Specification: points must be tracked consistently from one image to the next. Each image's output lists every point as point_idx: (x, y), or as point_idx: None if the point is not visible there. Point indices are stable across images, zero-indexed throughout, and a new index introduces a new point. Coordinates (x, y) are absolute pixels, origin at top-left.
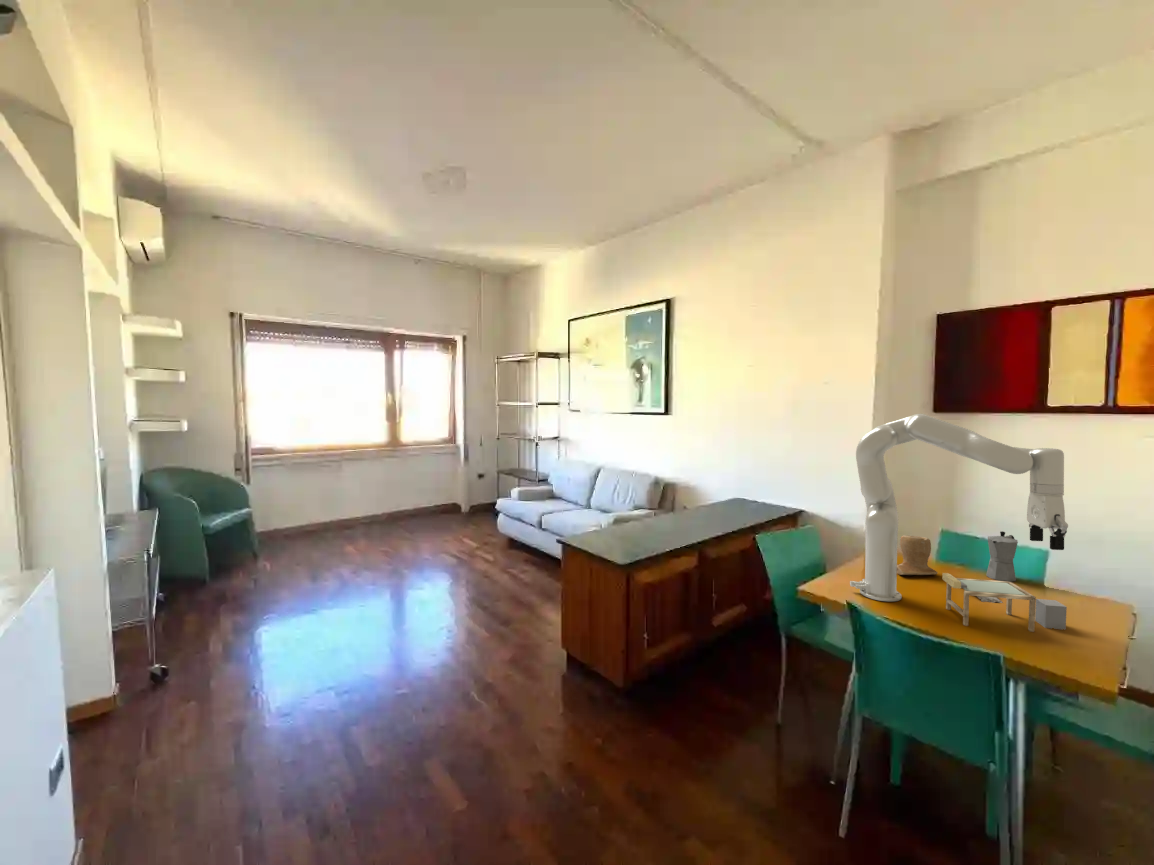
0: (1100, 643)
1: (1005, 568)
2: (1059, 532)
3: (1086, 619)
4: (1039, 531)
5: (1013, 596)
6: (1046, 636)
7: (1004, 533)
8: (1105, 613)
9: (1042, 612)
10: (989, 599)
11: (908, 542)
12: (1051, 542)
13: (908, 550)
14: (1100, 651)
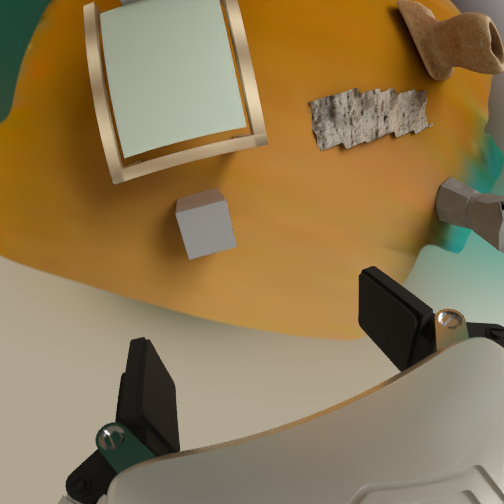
0: (139, 278)
1: (456, 208)
2: (71, 475)
3: (275, 286)
4: (396, 348)
5: (99, 122)
6: (120, 190)
7: None
8: (320, 317)
9: (190, 202)
10: (319, 121)
11: (472, 15)
12: (128, 376)
13: (456, 17)
14: (95, 267)
